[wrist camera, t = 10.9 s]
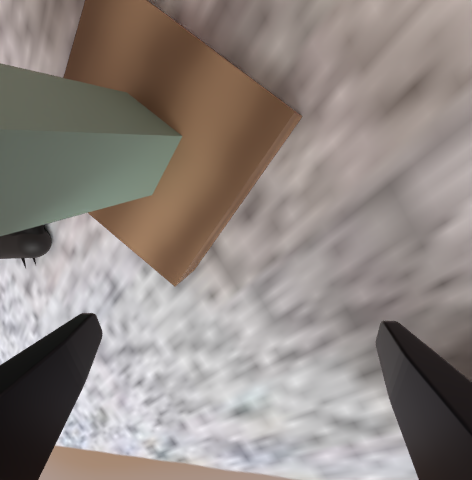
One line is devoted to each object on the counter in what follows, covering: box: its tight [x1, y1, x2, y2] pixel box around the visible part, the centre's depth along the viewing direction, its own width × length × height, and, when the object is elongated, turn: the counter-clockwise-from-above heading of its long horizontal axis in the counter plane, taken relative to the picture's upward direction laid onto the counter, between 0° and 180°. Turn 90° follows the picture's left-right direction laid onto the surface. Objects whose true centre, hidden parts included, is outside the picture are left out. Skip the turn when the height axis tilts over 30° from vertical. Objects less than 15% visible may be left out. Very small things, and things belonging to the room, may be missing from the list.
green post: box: [0, 64, 182, 236], centre depth 13 cm, size 4×4×13 cm
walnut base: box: [64, 0, 302, 286], centre depth 20 cm, size 14×14×3 cm
